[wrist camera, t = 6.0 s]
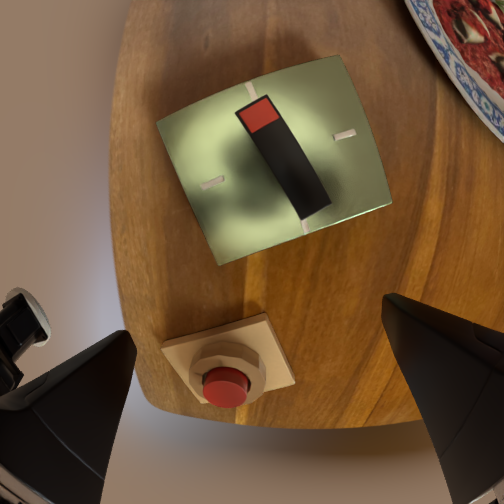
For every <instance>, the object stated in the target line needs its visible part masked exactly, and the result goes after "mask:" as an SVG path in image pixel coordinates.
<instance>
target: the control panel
mask: <svg viewBox="0 0 504 504" xmlns="http://www.w3.org/2000/svg"><path fill="white" fill-rule="evenodd" d="M265 94H267V95H268V96H269V98H270V99H271V101H272V102H273V104H274V105H275V107H276V108H277V110H278V111H279V113H280V114H281V116H282V117H283V119H284V120H285V122H286V124H287V125H288V127H289V128H290V130H291V131H292V133H293V135H294V136H295V138H296V140H297V141H298V143H299V144H300V146H301V148H302V149H303V151H304V153H305V154H306V156H307V158H308V160H309V161H310V163H311V165H312V167H313V168H314V170H315V172H316V174H317V175H318V177H319V179H320V181H321V183H322V184H323V186H324V188H325V190H326V192H327V194H328V195H329V197H330V199H331V201H332V204H331V205H329V206H327V207H325V208H324V209H322V210H320V211H318V212H317V213H315V214H313V215H311V216H310V217H308V218H306V219H304V220H303V221H301V220H300V218H299V216H298V215H297V213H296V211H295V209H294V208H293V206H292V204H291V203H290V201H289V199H288V197H287V196H286V194H285V192H284V191H283V189H282V187H281V186H280V184H279V182H278V181H277V179H276V178H275V176H274V174H273V173H272V171H271V169H270V168H269V166H268V165H267V163H266V161H265V160H264V158H263V157H262V155H261V153H260V152H259V150H258V149H257V147H256V145H255V144H254V142H253V141H252V139H251V138H250V136H249V135H248V133H247V132H246V130H245V128H244V127H243V125H242V124H241V122H240V121H239V119H238V118H237V116H236V115H235V112H236V111H237V110H239V109H241V108H242V107H244V106H246V105H247V104H249V103H251V102H253V101H254V100H256V99H258V98H260V97H262V96H263V95H265ZM156 125H157V128H158V130H159V133H160V135H161V137H162V140H163V142H164V145H165V147H166V150H167V152H168V154H169V157H170V159H171V161H172V164H173V166H174V169H175V171H176V173H177V176H178V178H179V180H180V183H181V185H182V187H183V189H184V192H185V194H186V196H187V199H188V201H189V203H190V205H191V208H192V210H193V212H194V214H195V217H196V219H197V221H198V223H199V225H200V228H201V230H202V232H203V234H204V236H205V239H206V241H207V243H208V245H209V247H210V249H211V252H212V254H213V256H214V258H215V260H216V262H217V264H218V266H220V265H223V264H226V263H229V262H232V261H234V260H237V259H240V258H243V257H245V256H248V255H251V254H254V253H256V252H259V251H262V250H265V249H267V248H270V247H273V246H276V245H279V244H281V243H284V242H287V241H290V240H292V239H295V238H298V237H301V236H303V235H306V234H309V233H312V232H314V231H317V230H320V229H323V228H325V227H328V226H331V225H334V224H336V223H339V222H342V221H345V220H347V219H350V218H353V217H356V216H358V215H361V214H364V213H367V212H369V211H372V210H375V209H378V208H380V207H383V206H386V205H389V204H391V203H393V201H392V197H391V193H390V189H389V185H388V182H387V178H386V175H385V171H384V168H383V164H382V161H381V158H380V154H379V151H378V148H377V145H376V142H375V139H374V136H373V133H372V130H371V128H370V125H369V122H368V119H367V117H366V114H365V112H364V109H363V106H362V104H361V101H360V99H359V97H358V94H357V92H356V89H355V87H354V85H353V83H352V80H351V78H350V76H349V74H348V71H347V69H346V67H345V65H344V63H343V61H342V59H341V57H340V55H335V56H330V57H326V58H321V59H317V60H313V61H309V62H305V63H302V64H298V65H294V66H291V67H288V68H284V69H281V70H278V71H275V72H271V73H268V74H265V75H262V76H259V77H257V78H254V79H251V80H248V81H245V82H243V83H240V84H237V85H235V86H232V87H230V88H227V89H225V90H222V91H220V92H218V93H215V94H213V95H211V96H208V97H206V98H204V99H202V100H199V101H197V102H195V103H193V104H191V105H189V106H187V107H184V108H182V109H180V110H178V111H176V112H174V113H172V114H170V115H168V116H167V117H165V118H163V119H161V120H159V121H157V122H156Z"/></svg>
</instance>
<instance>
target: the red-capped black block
mask: <svg viewBox="0 0 504 504" xmlns="http://www.w3.org/2000/svg"><path fill="white" fill-rule="evenodd" d="M235 115H236V116H237V118H238V119H239V121H240V122H241V124H242V125H243V127H244V128H245V130H246V132H247V133H248V135H249V136H250V138H251V139H252V141H253V142H254V144H255V145H256V147H257V149H258V150H259V152H260V153H261V155H262V157H263V158H264V160H265V161H266V163H267V165H268V166H269V168H270V169H271V171H272V173H273V174H274V176H275V178H276V179H277V181H278V182H279V184H280V186H281V187H282V189H283V191H284V192H285V194H286V196H287V197H288V199H289V201H290V203H291V204H292V206H293V208H294V209H295V211H296V213H297V215H298V216H299V218H300V220H301V221H303V220H304V219H306V218H308V217H310V216H311V215H313V214H315V213H317V212H318V211H320V210H322V209H324V208H325V207H327V206H329V205H331V204H332V201H331V199H330V197H329V195H328V194H327V192H326V190H325V188H324V186H323V184H322V183H321V181H320V179H319V177H318V175H317V174H316V172H315V170H314V168H313V167H312V165H311V163H310V161H309V160H308V158H307V156H306V154H305V153H304V151H303V149H302V148H301V146H300V144H299V143H298V141H297V140H296V138H295V136H294V135H293V133H292V131H291V130H290V128H289V127H288V125H287V124H286V122H285V120H284V119H283V117H282V116H281V114H280V113H279V111H278V110H277V108H276V107H275V105H274V104H273V102H272V101H271V99H270V98H269V96H268V95H267V94H265V95H263V96H262V97H260V98H258V99H256V100H254V101H253V102H251V103H249V104H247V105H246V106H244V107H242V108H241V109H239V110H237V111H236V112H235Z"/></svg>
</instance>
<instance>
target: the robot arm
mask: <svg viewBox="0 0 504 504" xmlns="http://www.w3.org/2000/svg"><path fill="white" fill-rule="evenodd" d="M2 306H3V309H2V310H1V311H0V504H100V501H101V496H102V491H103V486H104V480H105V476H106V472H107V468H108V463H109V459H110V455H111V451H112V447H113V443H114V439H115V436H116V432H117V429H118V425H119V421H120V418H121V415H122V411H123V408H124V404H125V401H126V398H127V395H128V391H129V387H130V384H131V379H132V375H133V370H134V365H135V361H136V356H137V348H136V346H135V344H134V342H133V339H132V337H131V335H130V333H129V332H128V331H127V330H118V331H116V332H114V333H112V334H111V335H109V336H107V337H106V338H104V339H102V340H100V341H99V342H97V343H95V344H94V345H92V346H90V347H89V348H87V349H85V350H83V351H82V352H80V353H78V354H77V355H75V356H74V357H72V358H70V359H68V360H67V361H65V362H63V363H62V364H60V365H58V366H56V367H55V368H53V369H51V370H50V371H48V372H46V373H44V374H43V375H41V376H40V377H38V378H36V379H34V380H32V381H30V382H29V383H27V384H25V385H23V386H21V387H19V388H17V386H18V385H19V383H20V381H21V379H22V378H23V376H24V374H23V373H22V371H20V370H19V368H18V367H17V366H16V364H15V362H16V361H17V360H18V359H19V358H20V356H21V355H22V354H23V353H24V352H25V351H26V350H27V349H28V348H29V347H30V346H31V345H32V344H36V343H39V342H43V341H46V340H47V339H48V335H47V334H46V332H45V330H44V329H43V327H42V326H41V324H40V323H39V321H38V319H37V318H36V316H35V314H34V313H33V311H32V309H31V308H30V306H29V304H28V302H27V301H26V299H25V297H24V295H23V294H22V293H19V294H17V295H16V296H14V297H13V298H11V299H9V300H8V301H6V302H5V303H4V304H3V305H2ZM381 318H382V323H383V326H384V328H385V331H386V334H387V336H388V339H389V342H390V345H391V348H392V350H393V353H394V356H395V358H396V360H397V363H398V365H399V367H400V369H401V371H402V373H403V375H404V377H405V379H406V382H407V384H408V386H409V388H410V390H411V392H412V395H413V397H414V399H415V401H416V404H417V406H418V408H419V411H420V413H421V415H422V418H423V420H424V423H425V424H426V427H427V430H428V432H429V435H430V437H431V440H432V442H433V445H434V448H435V451H436V453H437V456H438V458H439V462H440V465H441V468H442V471H443V474H444V477H445V480H446V483H447V486H448V489H449V492H450V495H451V498H452V502H453V504H471V503H473V502H474V501H476V500H478V499H479V498H481V497H482V496H484V495H486V494H487V493H489V492H490V491H492V490H494V492H495V495H496V497H497V498H496V499H495V500H493V501H492V502H491V503H489V504H504V333H502V332H498V331H495V330H492V329H490V328H487V327H484V326H481V325H479V324H476V323H473V324H472V322H471V321H468V320H466V319H463V318H460V317H458V316H455V315H453V314H450V313H447V312H445V311H442V310H439V309H437V308H434V307H431V306H429V305H426V304H423V303H421V302H418V301H415V300H413V299H410V298H407V297H405V296H402V295H399V294H397V293H390V294H386V295H384V296H383V299H382V314H381ZM16 388H17V389H16Z"/></svg>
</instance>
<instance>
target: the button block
mask: <svg viewBox="0 0 504 504" xmlns="http://www.w3.org/2000/svg"><path fill="white" fill-rule="evenodd" d="M160 349H161V351H162V352H163V354H164V355H165V357H166V358H167V359H168V361H169V362H170V364H171V365H172V366H173V368H174V369H175V370H176V372H177V373H178V374H179V376H180V377H181V378H182V380H183V381H184V382H185V384H186V385H187V386H188V388H189V389H190V390H191V391H192V393H193V394H194V395H195V396H196V398H197V399H198V400H199V401H200V403H209V402H208V401H207V400H206V399H205V397H204V395H203V387H204V383H205V379H206V375H207V373H208V372H209V371H210V370H212V369H213V368H216V367H222V366H225V367H231V368H235V369H238V370H240V371H241V372H242V373H244V374H245V376H246V377H247V380H248V388H247V398H246V401H245V402H244V403H243V404H242V405H245V404H250V403H252V402H253V401H254V400H256V399H257V398H259V397H260V396H261V395H262V394H263V392H265V391H270V390H274V389H278V388H282V387H286V386H289V385H293V384H295V377H294V374H293V371H292V369H291V367H290V365H289V363H288V361H287V358H286V356H285V354H284V352H283V349H282V347H281V345H280V343H279V341H278V338H277V336H276V334H275V332H274V330H273V327H272V325H271V323H270V321H269V318H268V316H267V314H266V313H262V314H259V315H256V316H253V317H249V318H246V319H243V320H240V321H236V322H233V323H230V324H226V325H223V326H219V327H216V328H212V329H209V330H205V331H201V332H198V333H194V334H190V335H186V336H183V337H179V338H175V339H171V340H167V341H164V342H163V344H162V346H161V348H160Z"/></svg>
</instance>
